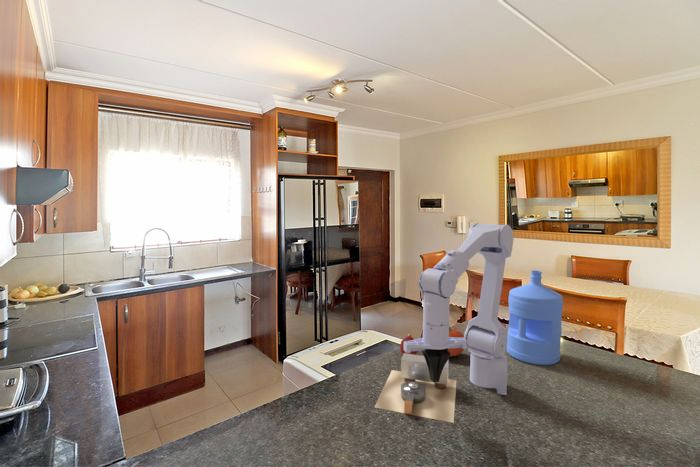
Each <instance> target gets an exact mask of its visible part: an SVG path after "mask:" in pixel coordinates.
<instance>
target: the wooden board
mask: <svg viewBox="0 0 700 467" xmlns="http://www.w3.org/2000/svg"><path fill="white" fill-rule="evenodd" d="M409 381H413V382H418V383H421V384H423V385H424V386H425V388H426V393H425V400H424V401H423V402H421V403H415V404H414V407H413V412H412V416H416V417H422V418H426V419H432V420H437V421H441V422H446V423H452V424H454V422H455V409H456V406H455V405H456V396H457V395H456V393H457V379H451V378H448V383H447V385H445V384H439V383H433V382H427V381H421V380H415V379H409V378H403V377H401V370H396V369H395V370H393V369H391V371H390V374H389V375H388V377H387V380H386V382H385V383H384V386H383V388H382V390H381V392H380V394H379V396H378V399H377V400H376V403H375V405H374V408H376V409H379V410H386V411H389V412H395V413H401V414H406V413H404V405H405V401H404V400H403V399H402V398H401V385H402V384H403V383H405V382H409ZM406 415H407V414H406ZM409 415H411V414H409Z"/></svg>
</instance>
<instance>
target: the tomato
mask: <svg viewBox="0 0 700 467" xmlns="http://www.w3.org/2000/svg"><path fill="white" fill-rule="evenodd" d="M449 337H455V338H462V337H463V338H464V334H463V332H461V330H459V329H458V328H456V327H452V326H451V325H449ZM464 350H465V349H462V348H451V349H448V351H449V352H450V357H456V356H459V355H460V354H461V353H463V351H464Z"/></svg>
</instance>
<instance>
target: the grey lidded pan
mask: <svg viewBox="0 0 700 467" xmlns="http://www.w3.org/2000/svg"><path fill="white" fill-rule="evenodd" d="M425 393H426V388H425V386H424V385H423V384H421V383H418V382H413V381H409V382H405V383H403V384H402V385H401V398H402V399H403V400H404V401H405V405H404V413H403V414H405V413H406V415H410V414H411V415H412V412H413V407H414V404H415V403H421V402H423V401H424V400H425ZM412 416H413V415H412Z"/></svg>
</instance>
